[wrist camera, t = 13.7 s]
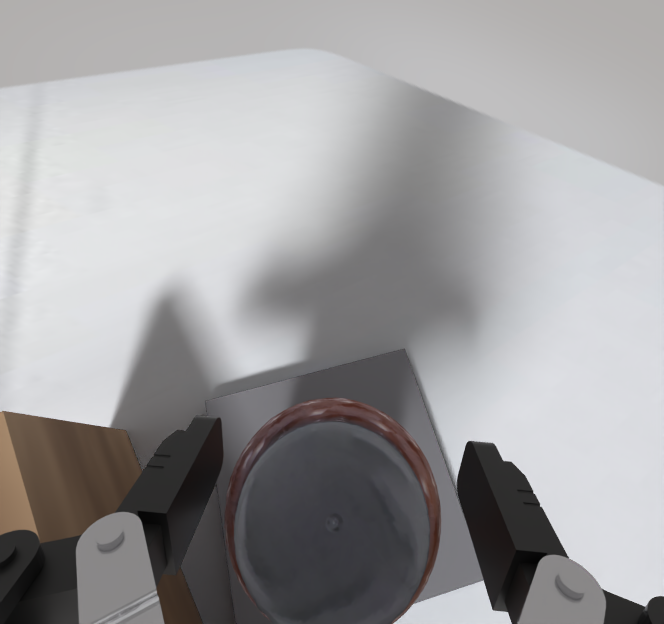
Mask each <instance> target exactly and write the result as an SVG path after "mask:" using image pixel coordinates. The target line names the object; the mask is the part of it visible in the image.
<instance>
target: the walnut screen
mask: <svg viewBox="0 0 664 624" xmlns="http://www.w3.org/2000/svg"><path fill="white" fill-rule="evenodd" d="M141 473H142V470H141V467H140V465H139V462H138V460H137V457H136V455H135V452H134V450H133V447H132V445H131V442H130V440H129V437H128V435H127V432H126V430H120V429H114V428H108V427H101V426H95V425H89V424H82V423H76V422H70V421H63V420H57V419H51V418H44V417H38V416H32V415H25V414H19V413H13V412H6V411H2V412H0V535H2V534H4V533H7V532H11V531H15V530H30V531H33V532H34V533H36V534H37V536H38V538H39V540H40V543H44V542H49V541H54V540H59V539H65V538H70V537H74V536H78V535H82V534H83V533H84V532H85V531H86V530H87V528H89V527H90V526H91V525H92V524H93V523H95V522H96V521H97V520H99V519H101V518H103V517H105V516H107V515H110V514H113V513H115V511H116V510H117V509H118V507H119V506H120V504H121V503H122V501H123V500H124V498H125V497H126V495H127V494H128V492H129V491H130V489H131V488H132V486H133V485H134V484H135V482H136V481H137V479H138V478H139V476H140V475H141ZM156 590H157V594H158V597H159V601H160V606H161V610H162V615H163V619H164V624H203V623H202V620H201V618H200V615H199V613H198V610H197V608H196V605H195V603H194V600H193V598H192V595H191V593H190V590H189V588H188V585H187V583H186V580H185V578H184V575H183V573H182V570H181V568H179V570H178V572H177V575H176V576H175V575H166V574H163V575H162V577H161V579H160V581H159V583H158V586H157V588H156Z"/></svg>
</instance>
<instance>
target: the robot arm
mask: <svg viewBox="0 0 664 624" xmlns="http://www.w3.org/2000/svg"><path fill="white" fill-rule="evenodd" d="M223 456H224V451H223V435H222V421H221V418H220V417H211V416H200V415H197V416H196V417H195V418H194V419H193V421H192V422H191V424H190V426H189V427H188V429H187V430H186V431H183V430H177V431H175V432H174V433H173V434H172V435H170V436H169V437H168V438H166V439H165V440H164V441H163V442H162V444H161V445H160V447H159V448H158V449H157V451H156V452H155V454H154V457H152V458H151V460H150V461H149V463H148V464H147V467H146V468H145V469H144V470H143V472H142V473H141V475H140V476H139V478H138V479H137V481H136V482H135V484H134V485H133V486H132V488H131V489H130V491H129V492H128V494H127V495H126V497H125V498H124V500H123V501H122V503H121V504H120V506H119V507H118V509H117V510H116V511H115V513H113V514H110V515H107V516H105V517H103V518H101V519H99V520H97V521H96V522H95V523H93V524H92V525H91V526H90V527H89V528H87V530H86V531H85V532H84V533H83V534H82V535H78V536H74V537H70V538H65V539H59V540H54V541H49V542H44V543H40V540H39V538H38V536H37V534H36V533H34V532H33V531H30V530H15V531H11V532H7V533H4V534H2V535H0V624H164V619H163V615H162V610H161V606H160V601H159V597H158V594H157V590H156V588H157V586H158V583H159V581H160V579H161V577H162V575H163V574H166V575H175V576H176V575H177V572H178V570H179V568H180V565H181V563H182V561H183V558H184V556H185V554H186V551H187V549H188V547H189V544H190V542H191V540H192V537H193V535H194V533H195V530H196V528H197V526H198V523H199V521H200V519H201V516H202V514H203V512H204V509H205V507H206V505H207V502H208V500H209V498H210V495H211V493H212V491H213V488H214V486H215V484H216V481H217V479H218V477H219V474H220V471H221V468H222V464H223ZM457 490H458V496H459V500H460V503H461V507H462V510H463V513H464V517H465V520H466V523H467V526H468V530H469V533H470V536H471V540H472V543H473V546H474V550H475V553H476V556H477V559H478V563H479V566H480V569H481V573H482V576H483V579H484V583H485V586H486V589H487V593H488V596H489V599H490V602H491V606H492V609H493V610H495V611H505V612H508V613H509V616H510V619H511V622H512V624H664V597H663V596H659V597H654V598H652V599H651V600H650V601H649V603H648V604H647V606H646V607H644V606H642V605H639V604H637V603H634V602H632V601H629V600H627V599H624V598H622V597H619V596H617V595H614V594H612V593H610V592H607V591H605V590H603V589H602V588H601V587H600V585H599V584H598V582H597V581H596V580H595V578H594V577H593V576H592V575H591V574H590V573H589V572H588V571H587V570H586V569H585V568H583V567H582V566H581V565H579V564H578V563H576V562H574V561H573V560H571V559H569V557H568V556H567V554H566V552H565V550H564V548H563V546H562V544H561V543H560V541H559V539H558V537H557V535H556V533H555V531H554V529H553V527H552V526H551V524H550V522H549V520H548V518H547V516H546V514H545V512H544V510H543V509H542V507H540V503H539V501H538V499H537V497H536V495H535V494H533V490H532V488H531V486H530V484H529V482H528V480H527V478H526V477H525V475H524V474H523V473H522V472H521V471H520V470H519V469H518V468H517V467H516V466H515V465H514V464H513V463H512V462H507V461H503V460H502V458H501V456H500V454H499V452H498V450H497V448H496V446H495V445H494V444H493V443H486V442H475V441H468V442H467V444H466V447H465V451H464V455H463V458H462V462H461V466H460V470H459V474H458V478H457Z"/></svg>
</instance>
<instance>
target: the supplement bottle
mask: <svg viewBox="0 0 664 624" xmlns="http://www.w3.org/2000/svg"><path fill="white" fill-rule="evenodd" d="M224 527H225V531H226V537H225V538H226V544H227V547H228V551H229V555H230V559H231V563H232V565H233V568H234V571H235V573H236V575H237V578H238V580H239V582H240V584H241V586H242V588H243V590H244V591H245V593H246V594H247V595H248V597H249V598H250V600H251V601H252V602H253V603H254V604H255V605H256V607H257V608H258V609H259V610H260V612H261V613H262V614H263V615H264V616H265V617H266V618H268V619H269V620H270V621H271V622H272V623H274V624H393V623H394V622H395V621H397V620H398V619H399V618H400V617H401V616H402V615H404V614H405V612H406V611H407V610H408V609H409V608H410V607H411V606H412V605H413V603H414V602H415V601H416V599H417V598H418V597H419V595H420V593H421V592H422V591H423V589H424V587H425V586H426V584H427V582H428V579H429V577H430V574H431V572H432V570H433V568H434V564H435V561H436V557H437V553H438V549H439V542H440V534H441V508H440V500H439V495H438V489H437V485H436V482H435V479H434V476H433V473H432V470H431V468H430V465H429V463H428V461H427V459H426V457H425V455H424V454H423V452H422V450H421V449H420V447H419V446H418V444H417V443H416V441H415V440H414V439H413V438H412V436H411V435H410V434H409V433H408V432H407V431H406V430H405V429H404V428H403V427H402V426H401V425H400V424H399V423H398V422H397V421H395V420H394V419H393V418H392V417H390V416H389V415H387V414H386V413H384V412H382V411H380V410H378V409H376V408H374V407H372V406H370V405H368V404H365V403H362V402H358V401H355V400H351V399H346V398H322V399H315V400H308V401H306V402H303V403H300V404H296V405H294V406H293V407H290V408H288V409H286V410H284V411H282V412H281V413H279V414H277V415H276V416H274V417H272V418H271V419H270V420H269V421H268V422H267V423H266V424H265V425H264V426H262V427H261V428H260V430H259V431H257V433H256V434H255V435H254V436H253V437H252V439H251V440H250V441H249V443H248V444H247V446H246V447H245V449H244V450H243V452H242V453H241V455H240V457H239V459H238V461H237V463H236V465H235V467H234V470H233V473H232V475H231V477H230V482H229V486H228V490H227V495H226V506H225V523H224Z"/></svg>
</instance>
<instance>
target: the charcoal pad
mask: <svg viewBox="0 0 664 624" xmlns="http://www.w3.org/2000/svg"><path fill="white" fill-rule="evenodd" d="M322 398H346V399H351V400H355V401H358V402H362V403H365V404H368V405H370V406H372V407H374V408H376V409H378V410H380V411H382V412H384V413H386V414H387V415H389V416H390V417H392V418H393V419H394V420H395V421H397V422H398V423H399V424H400V425H401V426H402V427H403V428H404V429H405V430H406V431H407V432H408V433H409V434H410V435H411V436H412V438H413V439H414V440H415V441H416V443H417V444H418V446H419V447H420V449H421V450H422V452H423V454H424V455H425V457H426V459H427V461H428V463H429V465H430V468H431V470H432V473H433V476H434V479H435V482H436V485H437V489H438V495H439V500H440V508H441V534H440V542H439V549H438V553H437V557H436V561H435V564H434V568H433V570H432V572H431V574H430V577H429V579H428V582H427V584H426V586H425V587H424V589H423V591H422V592H421V593H420V595H419V597H418V598H417V599H416V601H415V602H414V603H417V602H420V601H423V600H426V599H429V598H432V597H435V596H438V595H441V594H444V593H447V592H450V591H453V590H456V589H459V588H462V587H465V586H468V585H471V584H474V583H477V582H480V581H483V580H484V579H483V576H482V573H481V569H480V566H479V563H478V559H477V556H476V553H475V550H474V546H473V543H472V540H471V536H470V533H469V530H468V526H467V523H466V520H465V517H464V515H463V512H462V509H461V506H460V503H459V501H458V498H457V495H456V492H455V489H454V486H453V484H452V481H451V478H450V475H449V472H448V470H447V467H446V464H445V461H444V458H443V455H442V453H441V450H440V447H439V444H438V441H437V438H436V436H435V433H434V430H433V427H432V424H431V422H430V419H429V416H428V413H427V410H426V407H425V405H424V402H423V399H422V396H421V393H420V390H419V388H418V385H417V382H416V379H415V376H414V374H413V371H412V368H411V365H410V362H409V359H408V357H407V354H406V351H405V349H401V350H398V351H394V352H390V353H386V354H382V355H379V356H375V357H371V358H367V359H363V360H359V361H356V362H352V363H348V364H344V365H340V366H337V367H333V368H329V369H325V370H321V371H318V372H314V373H310V374H306V375H302V376H298V377H295V378H291V379H287V380H283V381H279V382H276V383H272V384H268V385H264V386H260V387H257V388H253V389H249V390H245V391H241V392H238V393H234V394H230V395H226V396H222V397H218V398H215V399H211V400H207V401H205V403H206V411H207V416H211V417H220V418H221V421H222V435H223V451H224V456H223V464H222V468H221V471H220V474H219V477H218V479H217V481H216V484H217V491H218V498H219V505H220V513H221V520H222V527H223V534H224V542H225V549H226V556H227V564H228V571H229V578H230V585H231V593H232V600H233V607H234V615H235V622H236V624H274V623H272V622H271V621H270V620H269V619H268V618H266V617H265V616H264V615H263V614H262V613H261V612H260V610H259V609H258V608H257V607H256V605H255V604H254V603H253V602H252V601H251V600H250V598H249V597H248V595H247V594H246V593H245V591H244V590H243V588H242V586H241V584H240V582H239V580H238V578H237V575H236V573H235V571H234V568H233V565H232V563H231V559H230V555H229V551H228V547H227V544H226V538H225V537H226V531H225V527H224V523H225V506H226V495H227V490H228V486H229V482H230V477H231V475H232V473H233V470H234V467H235V465H236V463H237V461H238V459H239V457H240V455H241V453H242V452H243V450H244V449H245V447H246V446H247V444H248V443H249V441H250V440H251V439H252V437H253V436H254V435H255V434H256V433H257V431H259V430H260V428H261V427H262V426H264V425H265V424H266V423H267V422H268V421H269V420H270V419H271V418H272V417H274V416H276V415H277V414H279V413H281V412H282V411H284V410H286V409H288V408H290V407H293V406H294V405H296V404H300V403H303V402H306V401H308V400H315V399H322ZM414 603H413V604H414Z"/></svg>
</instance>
